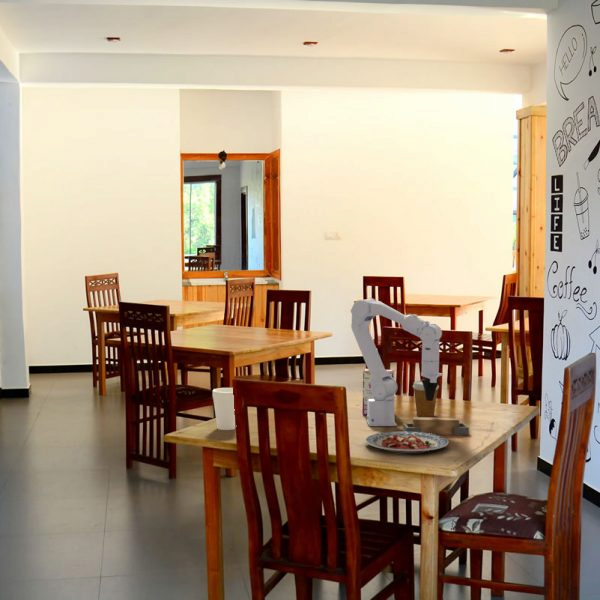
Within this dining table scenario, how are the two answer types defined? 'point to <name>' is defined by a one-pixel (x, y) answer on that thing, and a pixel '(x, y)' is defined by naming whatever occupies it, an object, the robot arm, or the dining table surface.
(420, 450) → the ceramic plate
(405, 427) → the end cap
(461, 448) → the dining table surface
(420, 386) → the disposable coffee cup
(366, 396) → the candy bar box
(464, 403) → the dining table surface
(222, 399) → the foam cup
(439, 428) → the slat
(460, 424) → the end cap
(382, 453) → the dining table surface
